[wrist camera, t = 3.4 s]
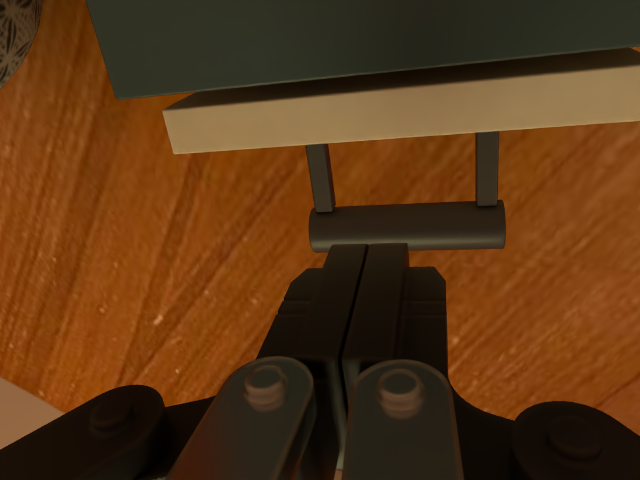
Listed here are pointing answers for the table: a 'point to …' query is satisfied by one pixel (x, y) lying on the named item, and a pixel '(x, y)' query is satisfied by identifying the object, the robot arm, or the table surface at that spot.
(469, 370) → the table surface
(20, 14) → the decorative egg
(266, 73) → the cabinet
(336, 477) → the block
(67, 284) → the table surface
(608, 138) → the table surface
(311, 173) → the drawer
